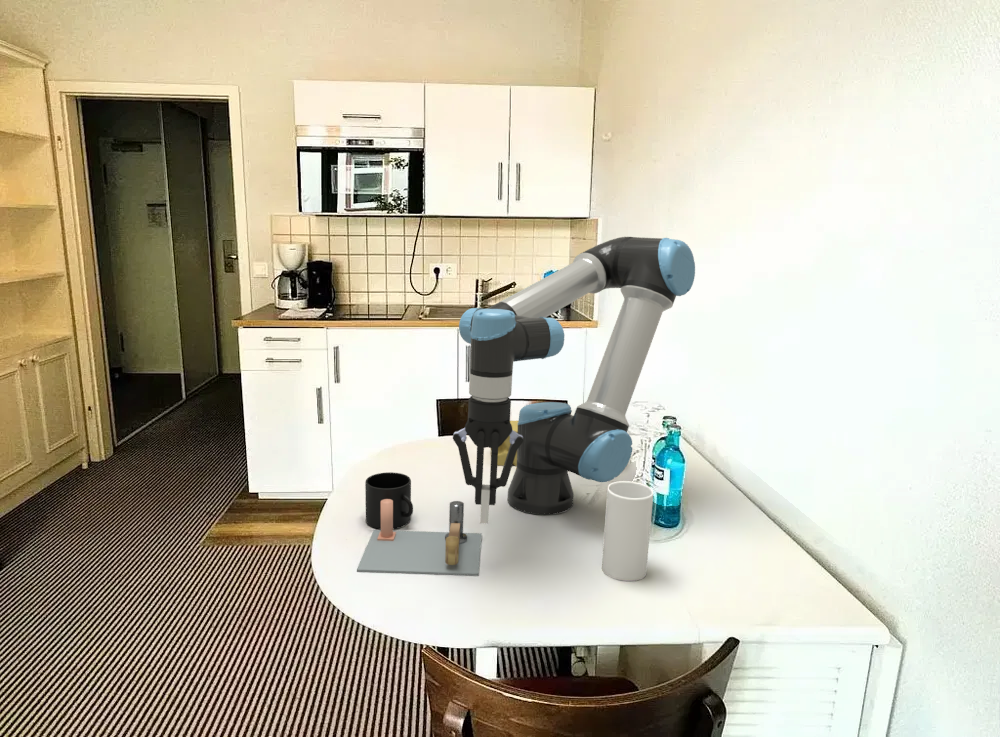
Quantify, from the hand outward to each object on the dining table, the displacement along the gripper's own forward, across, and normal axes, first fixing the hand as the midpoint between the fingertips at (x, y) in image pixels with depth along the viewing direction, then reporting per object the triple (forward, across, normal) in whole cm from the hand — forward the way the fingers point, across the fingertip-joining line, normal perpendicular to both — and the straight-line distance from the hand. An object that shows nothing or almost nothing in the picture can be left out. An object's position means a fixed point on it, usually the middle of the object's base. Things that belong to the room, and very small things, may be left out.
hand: (484, 520), depth 123 cm
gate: (+7, +6, -1) cm, 9 cm away
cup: (+9, -26, +1) cm, 28 cm away
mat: (+9, +12, -3) cm, 15 cm away
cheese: (+8, -5, -56) cm, 57 cm away
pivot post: (+9, +6, -8) cm, 13 cm away
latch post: (+9, +19, -8) cm, 23 cm away
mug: (+9, +20, -16) cm, 27 cm away
